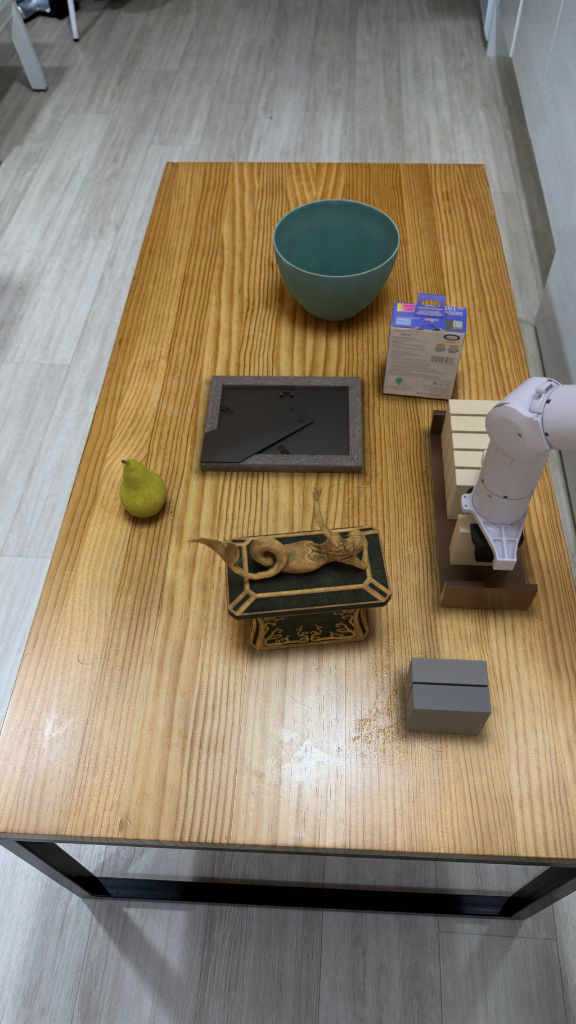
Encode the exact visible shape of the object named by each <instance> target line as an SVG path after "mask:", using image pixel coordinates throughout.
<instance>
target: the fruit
mask: <svg viewBox="0 0 576 1024" xmlns="http://www.w3.org/2000/svg"><path fill="white" fill-rule="evenodd" d="M120 462H121V464H123V468H122V482H121V485H120V487H119V499H120V500H119V501H120V503H121V505H122V507H123V508H124V509H125V510H126V511H127V512H128V513H129V514H130V515H132V516H133V517H134V516H135V517H137V518H141V519H146V518H147V519H148V518H150V517H153V516H156V514H158V513H159V512H160V511H161V509H162V508H163V506H164V504H165V503H166V500H167V495H168V493H167V492H168V491H167V486H166V483H165V481H164V479H163V478H162V476H160V475H159V473H157V472H155V471H154V470H151V469H149V468H148V467H146V465H144V464H143V462H141V461H139V460H137V459H135V458H128V459H121V461H120Z"/></svg>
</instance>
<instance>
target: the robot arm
mask: <svg viewBox="0 0 576 1024" xmlns="http://www.w3.org/2000/svg"><path fill="white" fill-rule="evenodd" d="M499 401H500V402H499V403H498V404H496V405H495V406H494V407H493V408H492V410H490V411H489V412H488V414H487V416H486V419H485V428H486V432H487V434H488V436H489V438H490V441H489V445H488V448H487V450H484V452H483V455H482V458H481V469H480V472H479V475H478V477H477V480H476V483H475V486H474V487H471V488H470V489H468V491H467V494H463V495H462V496H461V500H460V502H461V510H462V511H463V512H466V513H471V514H472V515H473V516H474V518H475V520H476V521H477V523H478V524H476V523H471V524H470V531H471V539H472V542H473V545H475V550H474V553H475V561H476V562H490V563H492V562H493V569H494V570H513V568H514V566H515V563H516V561H517V558H516V551H517V547H521V548H522V545H523V544H524V540H525V536H524V535H525V533H524V534H523V530H524V526H525V522H526V520H527V515H528V512H529V507H530V506H529V505H530V502H531V500H532V498H533V496H534V493H535V490H536V488H537V485H538V484H539V481H540V479H541V476H542V474H543V471H544V469H545V467H546V464H547V462H548V459H549V456H550V453H551V451H552V450H553V451H554V450H555V451H569V452H576V384H562V383H560V382H559V381H557V380H556V379H553V378H551V377H546V376H545V377H544V376H542V377H541V376H532V377H529V378H527V379H525V380H524V381H523V382H522V383H520V384H519V385H518V386H517V387H516V388H515V389H512V390H511V392H509V393H508V394H507V395H506V396H505V397H503V398H502V399H501V400H499Z"/></svg>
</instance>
